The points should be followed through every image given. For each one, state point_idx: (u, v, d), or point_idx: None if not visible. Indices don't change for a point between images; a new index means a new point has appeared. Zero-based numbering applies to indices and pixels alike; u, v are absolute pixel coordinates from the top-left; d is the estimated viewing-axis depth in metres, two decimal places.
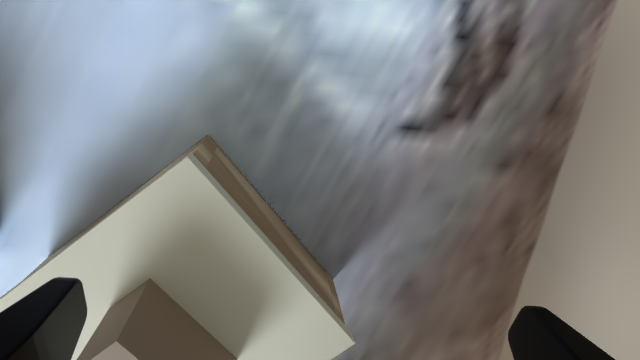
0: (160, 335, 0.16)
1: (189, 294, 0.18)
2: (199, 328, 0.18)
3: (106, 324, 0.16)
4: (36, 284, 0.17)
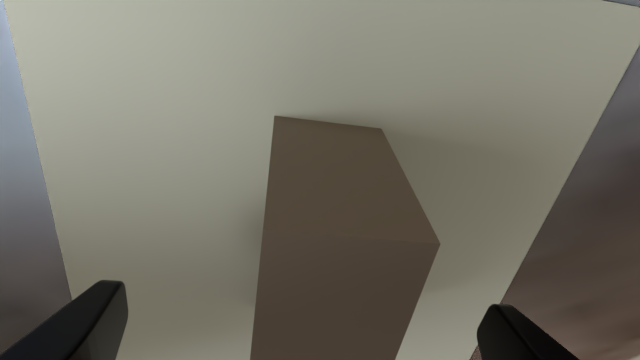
0: None
1: None
2: None
3: (313, 156, 0.07)
4: None
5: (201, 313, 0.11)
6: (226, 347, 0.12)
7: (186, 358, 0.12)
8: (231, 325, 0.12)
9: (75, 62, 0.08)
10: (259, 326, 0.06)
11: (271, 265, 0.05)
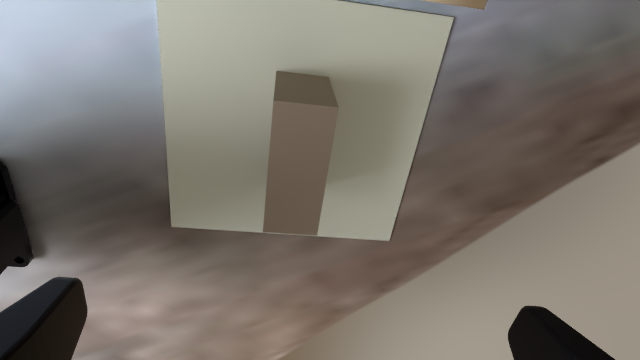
0: None
1: (338, 114, 0.19)
2: None
3: (293, 84, 0.16)
4: None
5: (237, 187, 0.20)
6: (250, 211, 0.21)
7: (227, 219, 0.21)
8: (253, 196, 0.21)
9: (185, 45, 0.17)
10: (272, 146, 0.15)
11: (276, 116, 0.14)
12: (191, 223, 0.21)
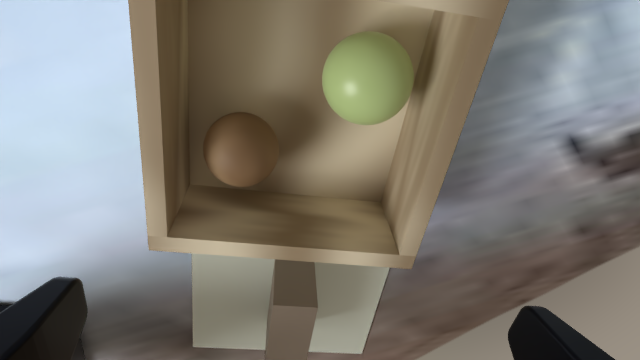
0: None
1: (321, 277, 0.25)
2: None
3: (287, 275, 0.22)
4: None
5: (244, 322, 0.27)
6: (254, 337, 0.28)
7: (236, 342, 0.28)
8: (256, 327, 0.27)
9: None
10: (271, 328, 0.21)
11: (274, 313, 0.21)
12: (208, 344, 0.28)
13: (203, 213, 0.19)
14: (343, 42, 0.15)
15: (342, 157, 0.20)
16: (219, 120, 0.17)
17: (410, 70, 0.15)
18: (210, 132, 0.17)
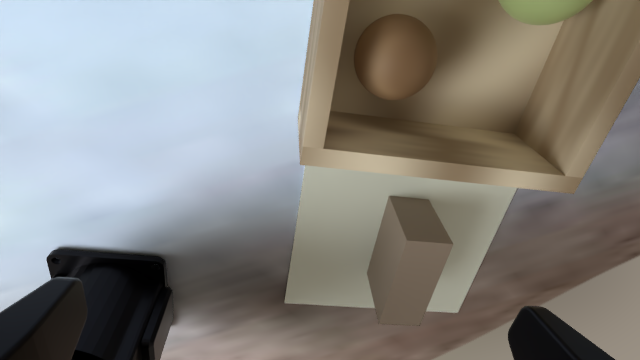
0: None
1: None
2: None
3: (409, 214, 0.21)
4: None
5: (342, 275, 0.25)
6: (349, 292, 0.26)
7: (330, 297, 0.26)
8: (354, 281, 0.26)
9: (322, 179, 0.21)
10: (398, 268, 0.20)
11: (406, 250, 0.19)
12: (301, 300, 0.26)
13: (345, 132, 0.17)
14: None
15: (484, 78, 0.19)
16: (378, 20, 0.15)
17: None
18: (371, 32, 0.15)
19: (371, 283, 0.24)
